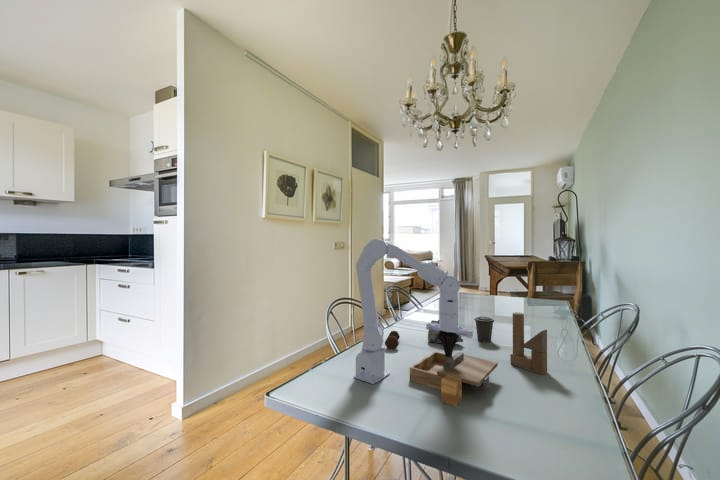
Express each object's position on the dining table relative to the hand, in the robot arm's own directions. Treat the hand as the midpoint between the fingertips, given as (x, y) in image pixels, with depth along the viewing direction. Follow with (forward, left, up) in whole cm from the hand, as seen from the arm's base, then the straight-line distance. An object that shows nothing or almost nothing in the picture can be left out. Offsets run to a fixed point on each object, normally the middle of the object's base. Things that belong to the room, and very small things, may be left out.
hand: (448, 355), depth 98 cm
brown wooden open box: (0, +3, -7) cm, 8 cm away
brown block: (-13, -6, -7) cm, 16 cm away
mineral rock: (+31, +15, -7) cm, 35 cm away
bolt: (+18, +32, -8) cm, 37 cm away
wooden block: (+24, -18, -7) cm, 31 cm away
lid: (0, -7, -5) cm, 8 cm away
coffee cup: (+45, +3, -7) cm, 46 cm away
